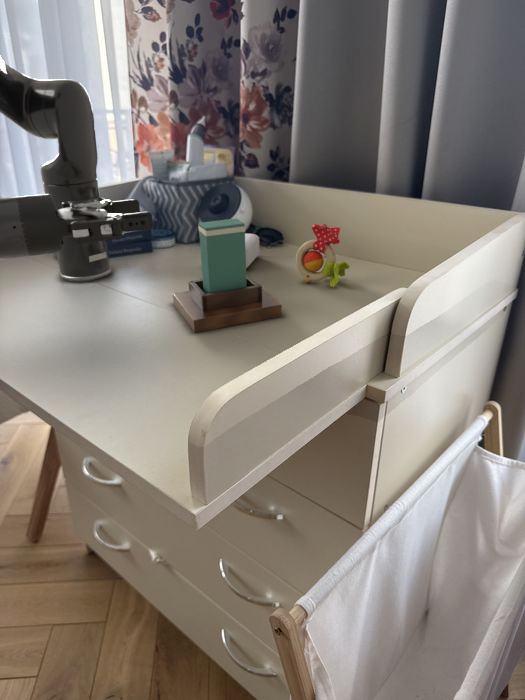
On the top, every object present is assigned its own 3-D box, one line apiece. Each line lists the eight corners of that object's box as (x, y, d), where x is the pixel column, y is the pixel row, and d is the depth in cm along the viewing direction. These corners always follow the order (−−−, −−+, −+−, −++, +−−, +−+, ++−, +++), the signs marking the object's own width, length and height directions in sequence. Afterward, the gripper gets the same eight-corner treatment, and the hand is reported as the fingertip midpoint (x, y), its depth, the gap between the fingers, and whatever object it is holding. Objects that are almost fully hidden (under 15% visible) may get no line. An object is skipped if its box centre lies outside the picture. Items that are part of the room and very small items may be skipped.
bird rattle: (304, 299, 96) (352, 283, 92) (279, 241, 92) (328, 222, 88) (311, 287, 101) (357, 272, 97) (288, 232, 98) (335, 214, 94)
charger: (190, 277, 101) (217, 254, 114) (238, 281, 99) (259, 256, 111) (188, 253, 99) (215, 231, 111) (237, 256, 96) (259, 234, 109)
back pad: (210, 306, 83) (205, 228, 78) (203, 298, 86) (197, 222, 81) (247, 299, 85) (245, 223, 80) (239, 292, 88) (236, 218, 83)
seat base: (194, 332, 79) (192, 304, 77) (173, 304, 89) (170, 278, 87) (281, 316, 84) (281, 289, 82) (252, 291, 94) (251, 266, 92)
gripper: (14, 209, 62) (153, 194, 68) (12, 187, 74) (131, 176, 79) (28, 271, 66) (160, 253, 71) (25, 241, 77) (138, 227, 83)
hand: (145, 212), depth 75 cm, fingers open, 8 cm apart
